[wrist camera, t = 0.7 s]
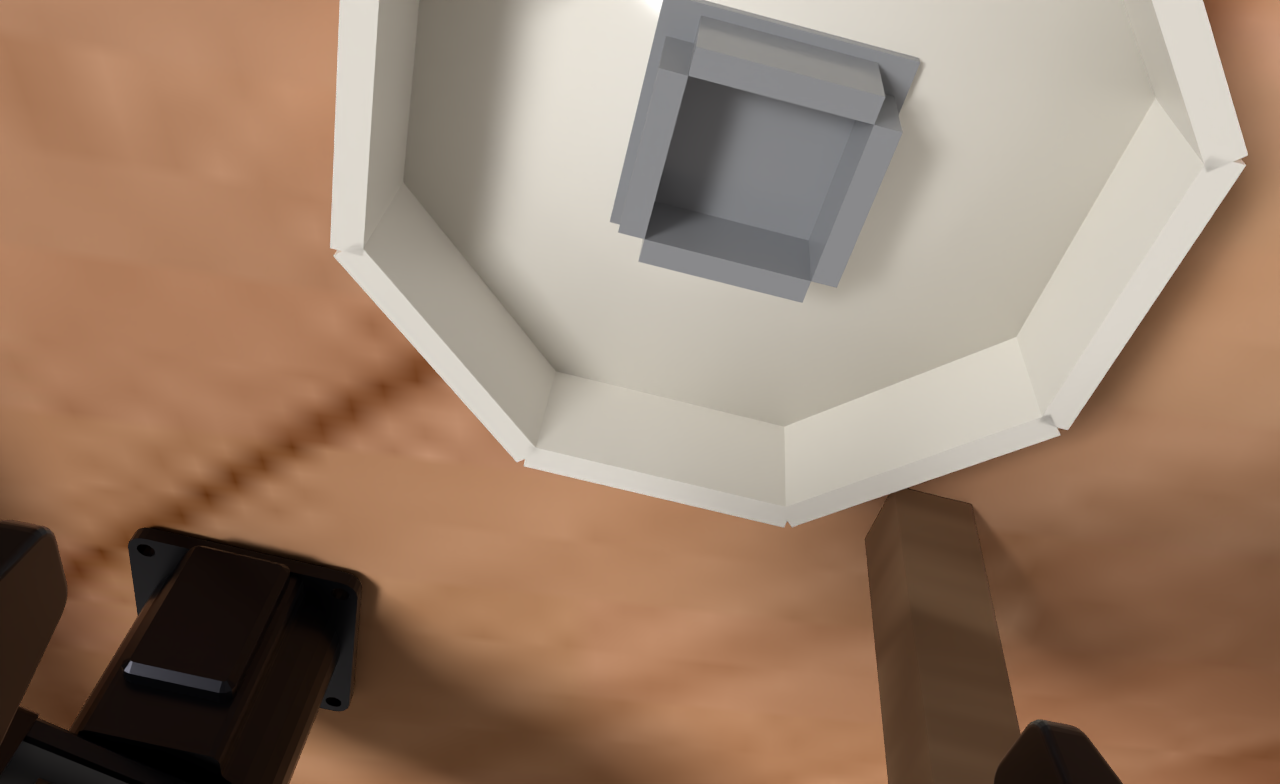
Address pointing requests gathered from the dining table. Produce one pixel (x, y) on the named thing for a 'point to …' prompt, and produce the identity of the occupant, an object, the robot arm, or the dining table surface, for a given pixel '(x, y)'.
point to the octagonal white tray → (774, 224)
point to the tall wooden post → (937, 644)
